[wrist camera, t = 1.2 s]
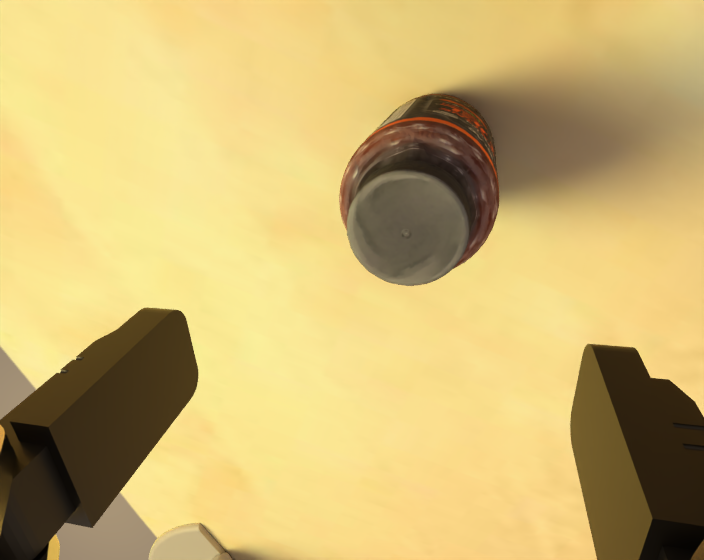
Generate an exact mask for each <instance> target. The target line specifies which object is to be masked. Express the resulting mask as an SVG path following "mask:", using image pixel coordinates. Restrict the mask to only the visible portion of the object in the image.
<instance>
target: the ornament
mask: <svg viewBox="0 0 704 560" xmlns="http://www.w3.org/2000/svg"><path fill="white" fill-rule="evenodd" d="M149 560H232V558H231V557H230V555H229V554H228V553H226V552H225V551H224V550H223V549H222V547H221V546H220V545H219V544H218V543H217V542H216V541H215V540H214V538H213V537H212V536H211V535H210V534H209V533H208V532H207V531H206V529H205V528H204V527H203V526H202V525H201V524H200V523H193V524H186V525H182V526H178V527H175V528H173V529H170V530H168V531H167V532H165V533H163V534H162V535H161V536H160V537H159V538H157V540H156V541H155V543H154V544H153V546H152V548H151V550H150V554H149Z"/></svg>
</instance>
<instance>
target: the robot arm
mask: <svg viewBox="0 0 704 560" xmlns="http://www.w3.org/2000/svg"><path fill="white" fill-rule="evenodd" d="M197 382H198V367H197V363H196V359H195V354H194V350H193V346H192V342H191V337H190V333H189V329H188V325H187V321H186V318H185V316H184V314H183V313H182V312H181V311H179V310H170V309H158V308H143V309H141V310H140V311H138V312H137V313H136V314H135V315H134V316H133V317H131V318H130V319H129V320H128V321H127V322H126V323H124V324H123V325H122V326H121V327H120V328H118V329H117V330H115V331H114V332H112V333H110V334H108V335H106V336H104V337H102V338H100V339H98V340H96V341H95V342H93V343H92V344H91V345H90V346H89V347H87V348H86V349H85V350H84V351H83V352H81V353H80V354H79V355H78V356H77V359H76V360H72V361H71V362H69V363H68V364H67V365H66V366H65V367H63V368H62V369H61V372H60V373H56V374H55V375H54V376H53V377H51V378H50V379H49V380H48V381H47V382H45V383H44V384H43V385H42V386H41V387H39V388H38V389H37V390H36V391H34V392H33V393H32V394H31V395H30V396H28V397H27V398H26V399H25V400H24V401H23V402H21V403H20V404H19V405H18V406H16V407H15V408H14V409H13V410H12V411H10V412H9V413H8V414H7V415H6V416H5V417H3V418H2V419H1V420H0V560H59V550H60V545H59V541H58V538H57V536H56V533H57V531H58V530H59V529H60V528H61V527H62V526H63V524H64V523H71V524H76V525H81V526H86V527H90V528H93V526H94V525H95V524H96V522H97V521H98V520H99V519H100V517H101V516H102V515H103V513H104V512H105V511H106V509H107V508H108V507H109V505H110V504H111V503H112V501H113V500H114V499H115V497H116V496H117V495H118V494H119V492H120V491H121V490H122V488H123V487H124V486H125V484H126V483H127V482H128V481H129V479H130V478H131V477H132V475H133V474H134V473H135V471H136V470H137V469H138V467H139V466H140V465H141V463H142V462H143V461H144V460H145V458H146V457H147V456H148V454H149V453H150V452H151V450H152V449H153V448H154V446H155V445H156V444H157V443H158V441H159V440H160V439H161V437H162V436H163V435H164V433H165V432H166V431H167V429H168V428H169V427H170V425H171V424H172V423H173V422H174V420H175V419H176V418H177V416H178V415H179V414H180V412H181V411H182V410H183V408H184V407H185V406H186V405H187V403H188V402H189V401H190V399H191V398H192V396H193V394H194V392H195V390H196V387H197ZM570 427H571V442H572V448H573V452H574V457H575V461H576V466H577V470H578V475H579V479H580V484H581V488H582V493H583V497H584V502H585V506H586V511H587V515H588V520H589V524H590V529H591V533H592V538H593V542H594V547H595V551H596V556H597V560H704V417H703V415H702V414H701V412H700V410H699V408H698V407H697V405H696V403H695V402H694V401H693V400H692V399H691V398H690V397H689V396H687V395H686V394H685V393H684V392H683V391H682V390H680V389H679V388H678V387H677V386H676V385H675V384H673V383H672V382H671V381H670V380H666V379H656V378H650V376H649V374H648V372H647V369H646V367H645V365H644V363H643V361H642V359H641V357H640V355H639V353H638V351H637V350H636V349H635V348H633V347H620V346H608V345H595V344H587V345H586V347H585V349H584V352H583V356H582V361H581V366H580V371H579V376H578V381H577V386H576V391H575V396H574V401H573V406H572V412H571V425H570Z"/></svg>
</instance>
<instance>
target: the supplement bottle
mask: <svg viewBox="0 0 704 560" xmlns="http://www.w3.org/2000/svg"><path fill="white" fill-rule="evenodd" d="M339 203H340V210H341V217H342V220H343V223H344V226H345V228H346V230H347V236H348V239H349V242H350V246H351V249H352V250H353V253H354V255H355V256H356V258H357V259H358V260H359V262H360V263H361V264H362V265H363V266H364V267H365V268H366V269H367V270H368V271H369V272H370V273H372V274H374V275H375V276H377V277H378V278H380V279H382V280H384V281H386V282H389V283H394V284H398V285H406V286H414V285H422V284H426V283H430V282H433V281H435V280H437V279H439V278H441V277H443V276H444V275H446V274H447V273H448V272H450V271H451V270H452V269H453V268H455V267H457V266H459V265H461V264H462V263H464V262H466V261H467V260H468V259H469V258H471V257H472V256H473V255H474V254H475V253H476V252H477V251H478V250H479V249H480V247H481V246H482V245H483V244H484V243H485V241H486V240H487V238H488V236H489V234H490V232H491V230H492V228H493V225H494V222H495V219H496V216H497V212H498V207H499V186H498V175H497V168H496V157H495V147H494V141H493V137H492V134H491V132H490V129H489V127H488V125H487V123H486V122H485V120H484V118H483V117H482V116H481V115H480V113H479V112H478V111H477V110H476V109H475V108H474V107H472V106H471V105H470V104H468V103H466V102H465V101H463V100H461V99H458V98H456V97H452V96H449V95H441V94H430V95H424V96H421V97H418V98H415V99H412V100H411V101H408V102H407V103H405V104H404V105H402V106H401V107H399V108H398V109H396V110H395V111H394V112H393V113H392V114H391V115H390V116H389V117H388V118H387V119H386V120H385V121H384V122H383V123H382V124H381V125H380V126H379V127H378V128H377V129H376V130H375V131H374V132H373V133H372V134H371V135H370V136H369V137H368V138H367V139H366V140H365V142H364V143H363V144H362V145H361V146H360V147H359V148H358V149H357V151H356V152H355V153H354V155H353V156H352V158H351V160H350V161H349V163H348V165H347V168H346V170H345V173H344V175H343V179H342V182H341V188H340V197H339Z"/></svg>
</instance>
